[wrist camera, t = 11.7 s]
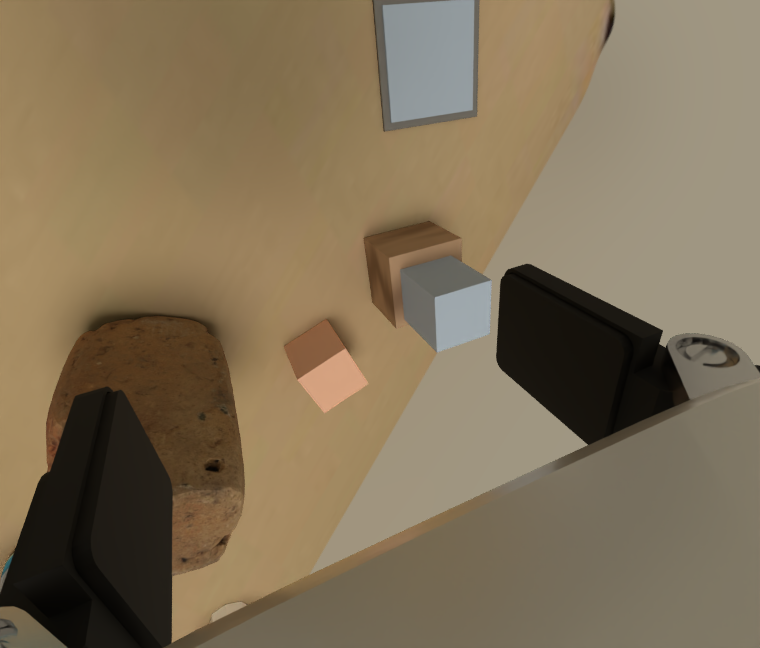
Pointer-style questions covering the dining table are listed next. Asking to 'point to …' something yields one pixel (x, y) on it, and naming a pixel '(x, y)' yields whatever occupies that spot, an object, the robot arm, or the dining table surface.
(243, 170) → the dining table surface
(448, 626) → the robot arm
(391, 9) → the swatch
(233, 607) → the cup
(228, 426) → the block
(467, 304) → the slate block
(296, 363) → the terracotta block
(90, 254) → the dining table surface
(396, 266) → the walnut block
